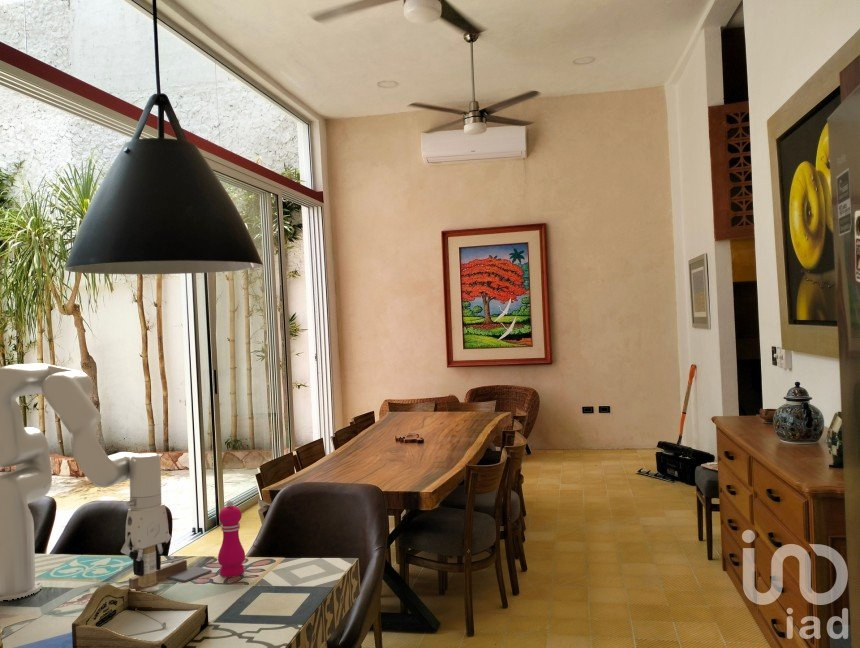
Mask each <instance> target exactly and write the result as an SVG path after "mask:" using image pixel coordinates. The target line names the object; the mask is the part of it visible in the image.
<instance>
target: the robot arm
mask: <svg viewBox="0 0 860 648" xmlns="http://www.w3.org/2000/svg"><path fill="white" fill-rule="evenodd" d="M93 391H94V383H93V381H92V378H91V377H90V376H89V375H88V374H87V373H85V372H84V371H81V370H78V369H73V368H67V367H62V366H58V365H54V364H52V365H51V364H47V363H38V362H37V363H35V362H34V363H16V364H10V365H8V364H7V365H5V366H2V367H0V468H4V469H5V468H10V467H15V468H16V469H15V470H12V471H8V472H4V473H2V474H1V475H0V602H4V601H3V600H8V601H13V600H12V599H14V600H18V599H17V598H19V599H22V598H21V597H23V598H25V596H26V597H29V596H32V595H34V594H36V593H38V592H39V591H41V590H42V589H43V583H42V581H40V580H36V559H35V558H36V557H35V556H36V554H35V550H36V549H35V525H34V524H35V523H34V517H33V514H32V511H31V509H30V508H29V504H30V503H32V502H36V501H38V500H41V499H42V498H43V497H45V496H46V495H48V493H49V492H50V490H51V489H52V488H51V487H52V482H53V477H52V476H53V475H52V474H53V473H52V465H51V458H50V448H49V442H48V439H47V437H46V436H45V434H44V433H43V431H41V430H40V429H39V428H36V427H32V426H25V425H24V415H23V411H22V408H21V407H20V406H21V405H20V404H19V403H18V402H17V400H16V399H17V398H18V397H23V396H24V397H25V396H26V397H27V396H32V395H33V396H34V395H43V397H44V399H45V400H46V402H47V403H48V404H49V406H50V407H51V409H52V410H53V411H54V413H55V415H56V416H57V417H58V418H59V419H60V421H61V422H62V424H63V426H64V427H65V428H66V429H67V431H68V433H69V435H70V445H71V446H70V447H71V451H72V455H73V459H74V460H75V463H76V464H77V466H78V467H79V468H80V470H81V471H82V473H83V475H84V476H85V477H86V478H87V479H88V481H90V482H91V483H92V484H93V485H94V486H96V487H99V488H109V487H111V486H115V485H117V484H119V483H122V482H125V481H128V480H129V500H128V501H127V502H126V506H127V507H129V508H128V511H127V516H126V521H125V542H124V544H123V545H122V547H121V549H120V552H121V554H124V555H126V556H127V557H129V558H130V559H131V560H132V566H133V567H132V571H133V575H134V576H143V575H144V561H143V560H141V558H142V552H143V549H145V548H148V547H151V546H155V548H156V549H155V550H156V570H160V569H161V567H162V565H161V564H162V562H161V561H162V560H161V559H162V557H161V556H162V554H163V552H164V549H165V547H166V545H167V544H168V543H169V541H170V540H171V539H172V536H171V534H170V533H169V520H168V513H167V509H166V506H165V503H163V502H162V469H161V468H162V467H161V456H160V455H159V454H158V453H156V452H141V453H135V452H129V451H128V452H127V451H119V452H116V453H113V454H110V455H108V454H107V453H106V451H105V450H104V449H103V448H102V446H101V444H100V442H99V440H98V436H97V428H98V425H99V424H100V422H101V419H102V415H101V413H100V411H99V409H97V407H96V406H95V404H94V403H93V401H92V400H91V398H90V396H91V395H92V393H93ZM130 548H131V549H130ZM40 589H41V590H40ZM33 593H34V594H33ZM31 594H32V595H31ZM28 595H29V596H28Z"/></svg>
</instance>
